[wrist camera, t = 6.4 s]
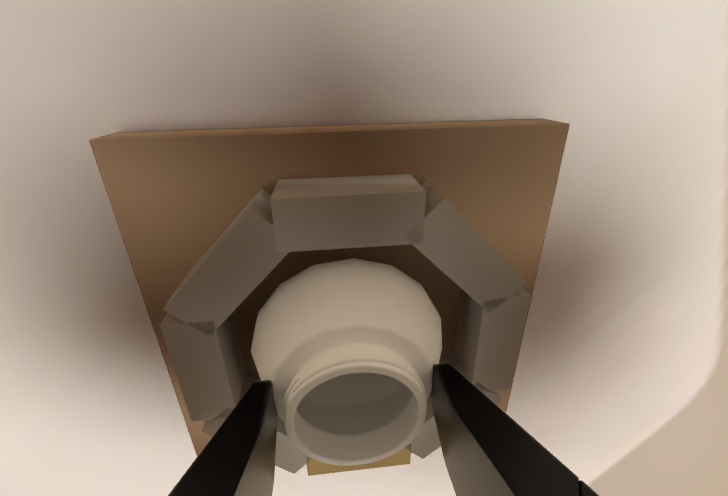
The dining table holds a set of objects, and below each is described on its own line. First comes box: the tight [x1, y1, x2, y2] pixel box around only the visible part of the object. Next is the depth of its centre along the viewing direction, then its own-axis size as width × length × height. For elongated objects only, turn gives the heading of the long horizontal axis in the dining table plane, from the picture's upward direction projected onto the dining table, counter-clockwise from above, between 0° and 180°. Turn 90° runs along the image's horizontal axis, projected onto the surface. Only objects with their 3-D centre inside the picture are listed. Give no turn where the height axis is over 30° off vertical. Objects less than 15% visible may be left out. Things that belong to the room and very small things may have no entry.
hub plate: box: [89, 119, 570, 476], centre depth 10 cm, size 11×11×3 cm
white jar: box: [251, 258, 442, 466], centre depth 9 cm, size 5×3×5 cm
